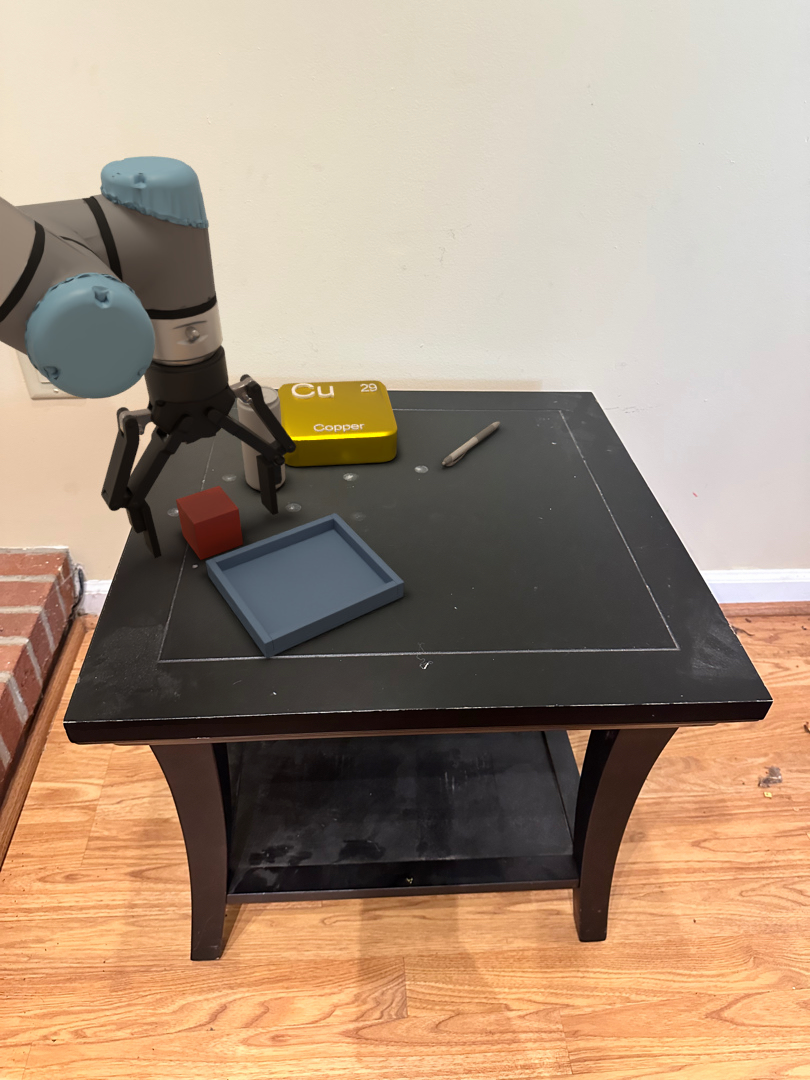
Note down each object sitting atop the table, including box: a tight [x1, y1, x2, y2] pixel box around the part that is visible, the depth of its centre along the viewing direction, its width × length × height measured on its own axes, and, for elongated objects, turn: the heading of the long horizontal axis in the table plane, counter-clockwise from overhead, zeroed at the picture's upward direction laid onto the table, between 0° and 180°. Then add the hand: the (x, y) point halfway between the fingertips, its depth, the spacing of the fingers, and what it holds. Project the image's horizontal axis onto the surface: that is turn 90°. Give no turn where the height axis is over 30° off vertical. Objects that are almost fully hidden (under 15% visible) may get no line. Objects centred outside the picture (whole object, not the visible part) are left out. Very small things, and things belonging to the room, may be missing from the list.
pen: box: [441, 421, 501, 467], centre depth 98 cm, size 1×14×1 cm, turn 143°
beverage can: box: [236, 385, 286, 492], centre depth 86 cm, size 5×5×12 cm
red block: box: [175, 485, 244, 561], centre depth 79 cm, size 5×5×5 cm
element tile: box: [277, 379, 398, 468], centre depth 98 cm, size 15×15×5 cm
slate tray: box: [205, 512, 405, 659], centre depth 75 cm, size 16×14×2 cm
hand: (214, 528), depth 80 cm, fingers open, 13 cm apart
